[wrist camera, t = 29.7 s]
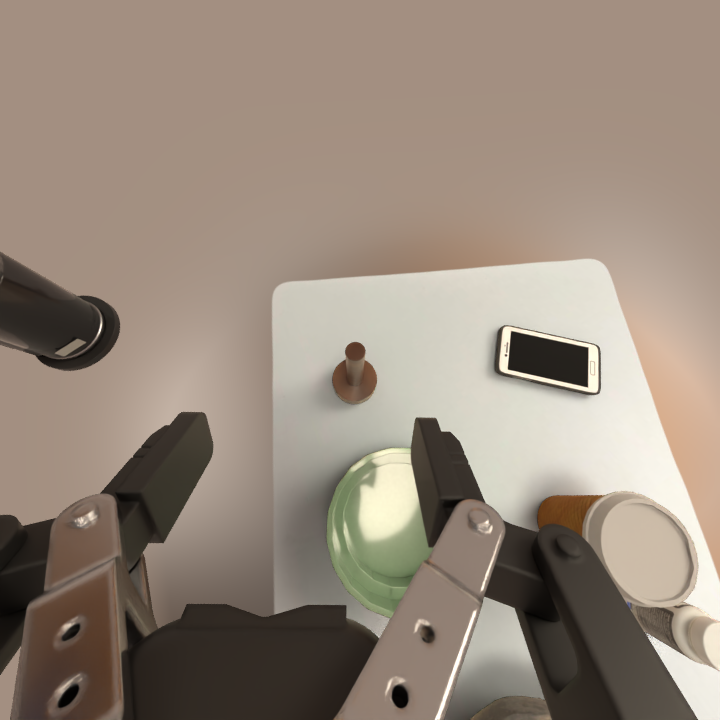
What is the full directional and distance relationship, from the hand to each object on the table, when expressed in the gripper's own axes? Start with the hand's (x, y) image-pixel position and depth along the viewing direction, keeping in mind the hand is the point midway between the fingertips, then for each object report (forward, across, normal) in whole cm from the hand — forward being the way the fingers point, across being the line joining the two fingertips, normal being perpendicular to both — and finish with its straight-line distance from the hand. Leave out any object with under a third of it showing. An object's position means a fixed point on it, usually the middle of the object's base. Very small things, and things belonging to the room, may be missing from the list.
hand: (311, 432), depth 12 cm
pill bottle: (+9, -37, +34) cm, 51 cm away
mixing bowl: (+16, -7, +27) cm, 32 cm away
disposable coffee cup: (+15, -28, +28) cm, 43 cm away
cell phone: (+31, -30, +12) cm, 45 cm away
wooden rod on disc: (+28, -2, +15) cm, 32 cm away
